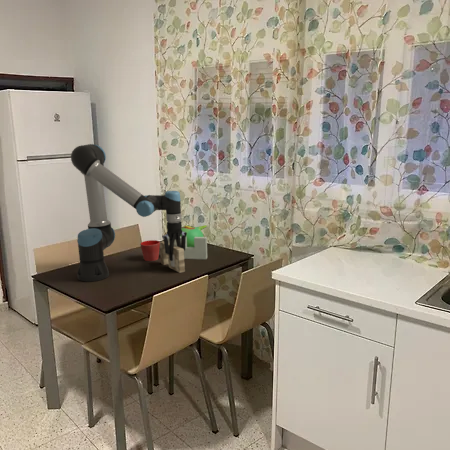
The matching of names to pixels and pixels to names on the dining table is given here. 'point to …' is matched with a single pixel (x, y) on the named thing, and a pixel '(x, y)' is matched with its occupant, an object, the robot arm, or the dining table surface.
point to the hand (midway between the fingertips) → (176, 265)
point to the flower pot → (150, 250)
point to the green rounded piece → (192, 233)
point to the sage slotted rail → (195, 248)
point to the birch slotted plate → (178, 256)
